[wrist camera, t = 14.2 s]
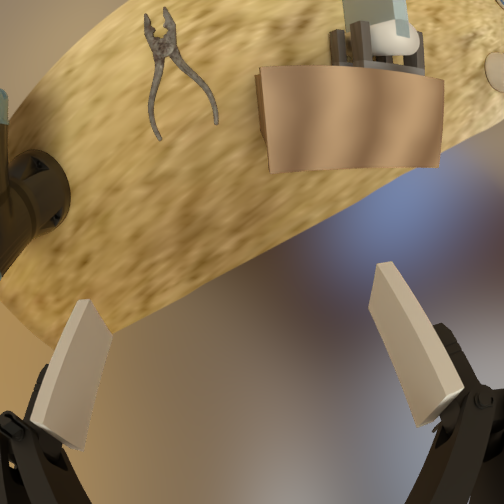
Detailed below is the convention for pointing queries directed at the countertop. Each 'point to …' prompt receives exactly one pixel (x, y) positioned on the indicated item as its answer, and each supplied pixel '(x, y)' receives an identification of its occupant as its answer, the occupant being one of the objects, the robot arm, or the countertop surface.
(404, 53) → the door
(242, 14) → the countertop surface
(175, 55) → the pliers
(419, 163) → the cabinet
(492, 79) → the pill bottle
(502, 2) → the supplement tub
